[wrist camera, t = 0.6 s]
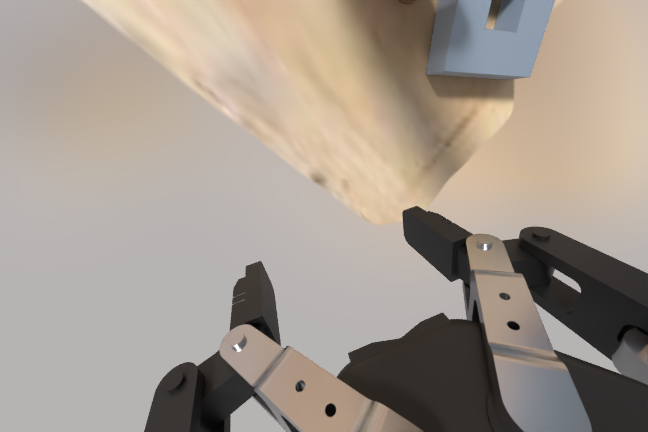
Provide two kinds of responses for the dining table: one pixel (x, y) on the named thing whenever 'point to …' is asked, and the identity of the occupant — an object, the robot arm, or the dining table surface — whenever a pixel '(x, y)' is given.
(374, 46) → the dining table surface
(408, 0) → the walnut peg
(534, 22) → the socket block
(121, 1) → the dining table surface
